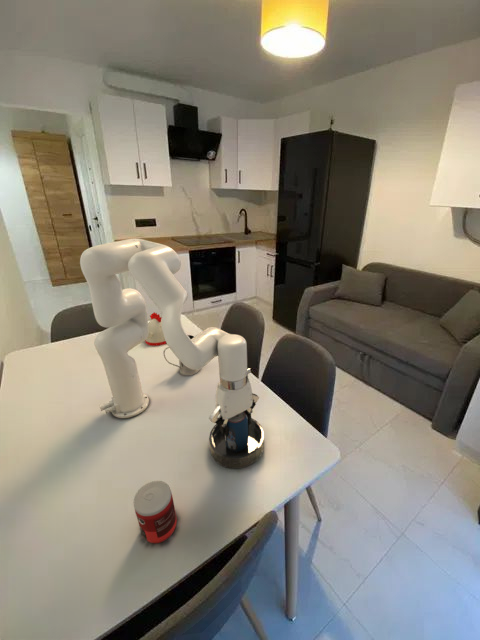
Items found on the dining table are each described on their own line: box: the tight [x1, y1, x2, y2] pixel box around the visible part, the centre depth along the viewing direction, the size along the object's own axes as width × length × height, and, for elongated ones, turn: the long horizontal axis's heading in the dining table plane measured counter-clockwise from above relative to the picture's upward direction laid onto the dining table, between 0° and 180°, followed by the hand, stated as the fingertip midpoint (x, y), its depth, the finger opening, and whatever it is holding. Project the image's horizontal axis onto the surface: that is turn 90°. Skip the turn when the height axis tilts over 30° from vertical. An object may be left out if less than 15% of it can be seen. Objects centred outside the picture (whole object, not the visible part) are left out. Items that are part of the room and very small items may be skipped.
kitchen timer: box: [144, 312, 167, 347], centre depth 148 cm, size 14×14×15 cm
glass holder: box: [162, 334, 201, 376], centre depth 122 cm, size 9×14×15 cm, turn 125°
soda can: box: [225, 411, 248, 452], centre depth 87 cm, size 7×7×12 cm
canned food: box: [133, 480, 178, 544], centre depth 66 cm, size 8×8×11 cm
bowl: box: [208, 417, 265, 469], centre depth 88 cm, size 16×16×4 cm
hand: (236, 427), depth 86 cm, fingers closed on soda can, 7 cm apart
